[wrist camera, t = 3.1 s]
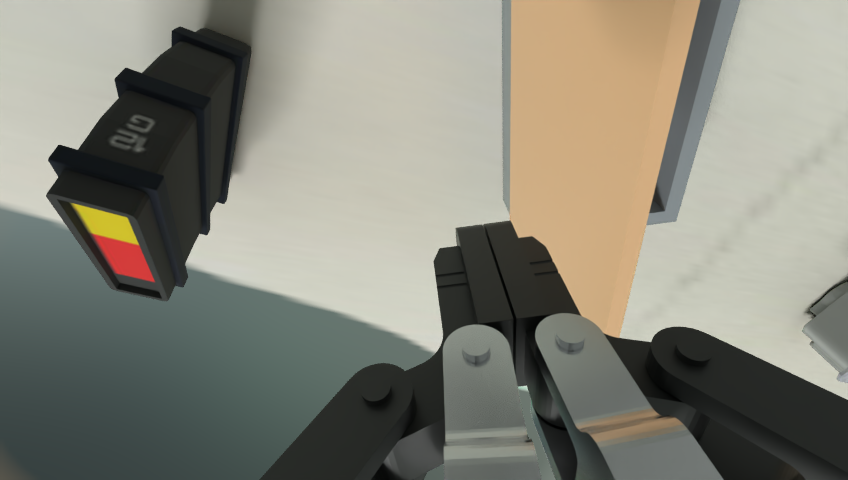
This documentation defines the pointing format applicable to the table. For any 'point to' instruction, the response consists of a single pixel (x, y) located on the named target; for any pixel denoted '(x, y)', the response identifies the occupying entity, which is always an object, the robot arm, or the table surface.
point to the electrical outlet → (831, 329)
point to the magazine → (155, 163)
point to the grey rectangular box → (688, 113)
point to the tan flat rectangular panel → (592, 134)
